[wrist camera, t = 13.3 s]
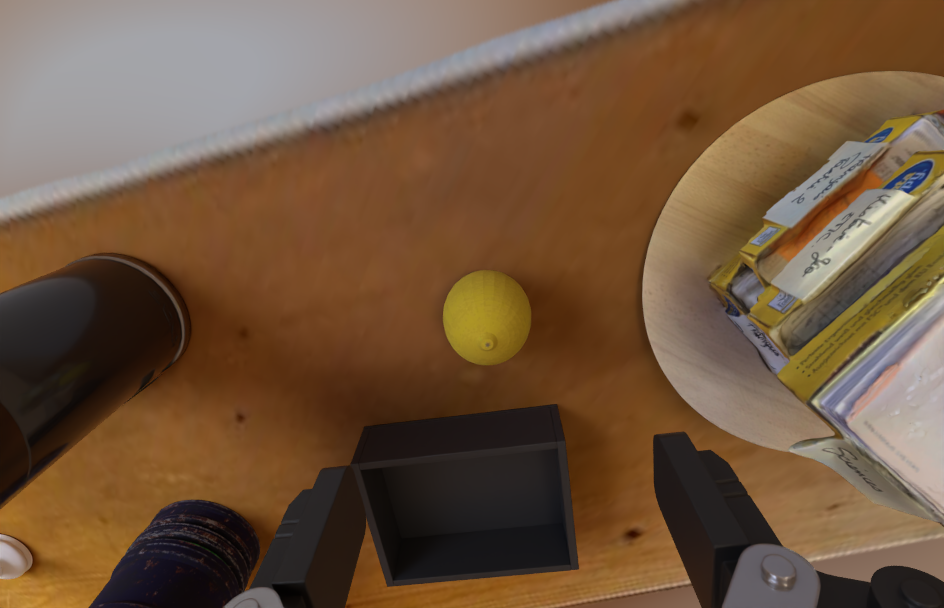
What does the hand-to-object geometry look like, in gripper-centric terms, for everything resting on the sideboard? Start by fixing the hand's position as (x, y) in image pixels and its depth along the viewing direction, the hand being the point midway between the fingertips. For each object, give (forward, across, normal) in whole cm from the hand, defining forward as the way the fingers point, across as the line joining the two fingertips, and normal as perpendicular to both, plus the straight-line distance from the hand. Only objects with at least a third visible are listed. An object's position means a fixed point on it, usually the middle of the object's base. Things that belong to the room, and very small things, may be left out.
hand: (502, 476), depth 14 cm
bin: (+23, +4, +19) cm, 30 cm away
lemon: (+23, +1, +4) cm, 23 cm away
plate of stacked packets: (+23, -22, +5) cm, 32 cm away
